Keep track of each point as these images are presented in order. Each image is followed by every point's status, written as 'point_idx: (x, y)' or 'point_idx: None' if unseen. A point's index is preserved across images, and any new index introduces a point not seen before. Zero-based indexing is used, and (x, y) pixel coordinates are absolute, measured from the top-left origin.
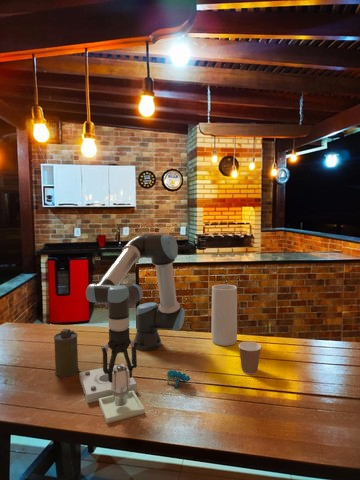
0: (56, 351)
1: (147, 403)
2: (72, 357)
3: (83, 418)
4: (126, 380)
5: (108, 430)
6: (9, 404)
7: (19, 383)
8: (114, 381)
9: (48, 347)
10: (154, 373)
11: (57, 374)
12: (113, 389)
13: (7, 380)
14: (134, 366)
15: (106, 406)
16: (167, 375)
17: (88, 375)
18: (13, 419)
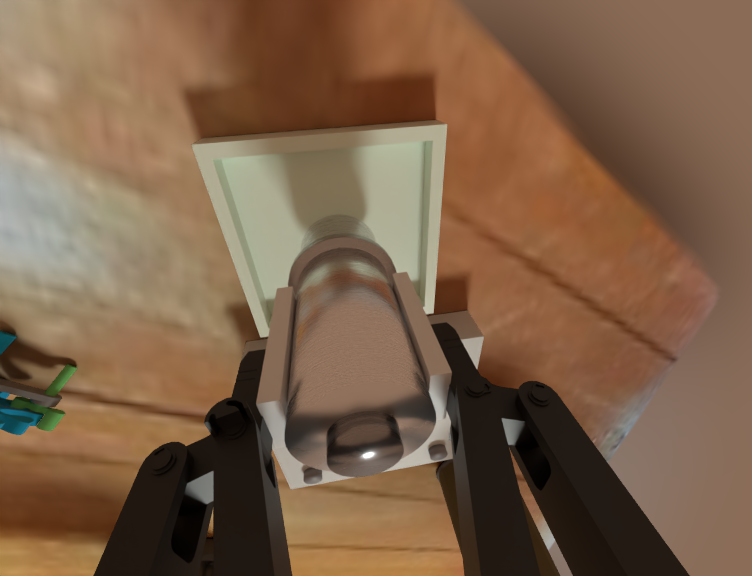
0: (546, 547)
1: (185, 236)
2: None
3: (517, 211)
4: (300, 324)
5: (444, 42)
6: (669, 356)
7: (598, 433)
8: (411, 322)
9: None
10: (158, 438)
11: None
12: (406, 280)
13: (614, 445)
14: (174, 460)
15: (404, 263)
16: (52, 411)
17: (436, 442)
18: (708, 283)
